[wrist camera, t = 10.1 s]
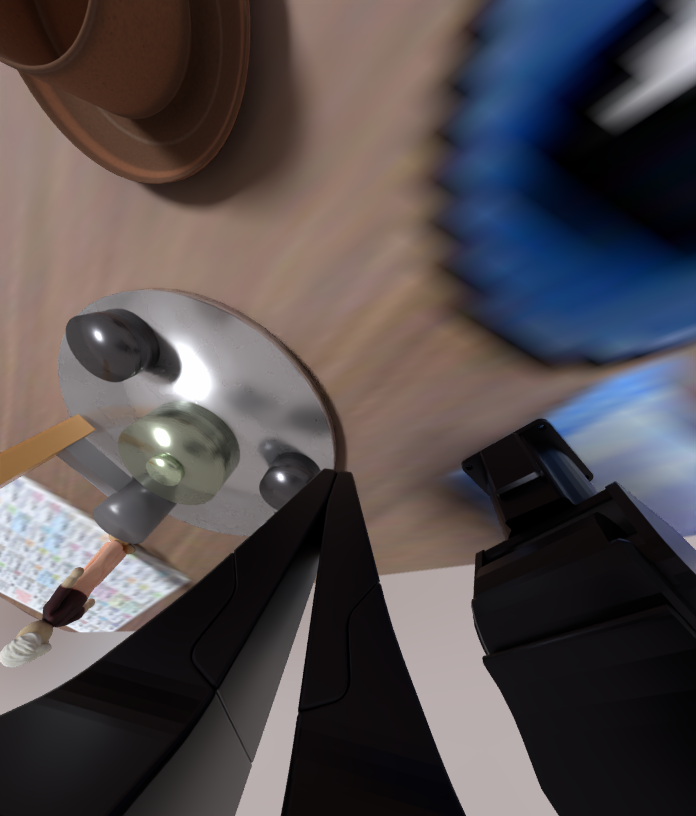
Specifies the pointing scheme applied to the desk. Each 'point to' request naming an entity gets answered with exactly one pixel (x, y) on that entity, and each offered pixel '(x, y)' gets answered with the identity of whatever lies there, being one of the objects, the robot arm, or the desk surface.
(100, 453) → the grey and tan piece
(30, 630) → the grandmother figurine
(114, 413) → the levelling plate
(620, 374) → the desk surface
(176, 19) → the cup and saucer
